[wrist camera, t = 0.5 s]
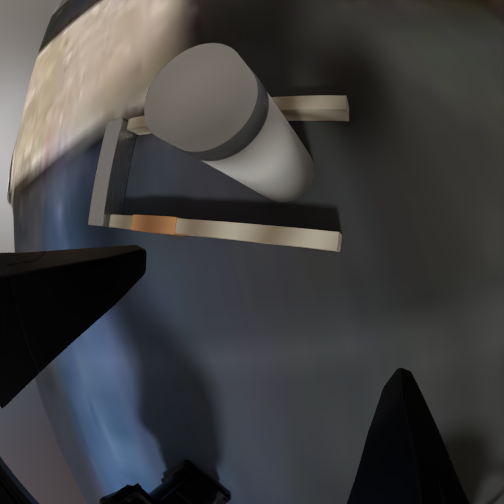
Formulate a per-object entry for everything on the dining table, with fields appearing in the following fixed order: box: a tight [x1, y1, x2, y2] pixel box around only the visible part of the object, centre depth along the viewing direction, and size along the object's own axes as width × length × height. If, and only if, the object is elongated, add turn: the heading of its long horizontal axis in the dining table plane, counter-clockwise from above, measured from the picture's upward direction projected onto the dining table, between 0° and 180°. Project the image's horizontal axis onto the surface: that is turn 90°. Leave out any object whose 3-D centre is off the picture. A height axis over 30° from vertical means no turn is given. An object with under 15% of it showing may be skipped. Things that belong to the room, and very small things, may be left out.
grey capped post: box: [144, 43, 315, 202], centre depth 17 cm, size 5×5×13 cm
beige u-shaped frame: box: [88, 95, 349, 252], centre depth 24 cm, size 24×11×2 cm, turn 83°
